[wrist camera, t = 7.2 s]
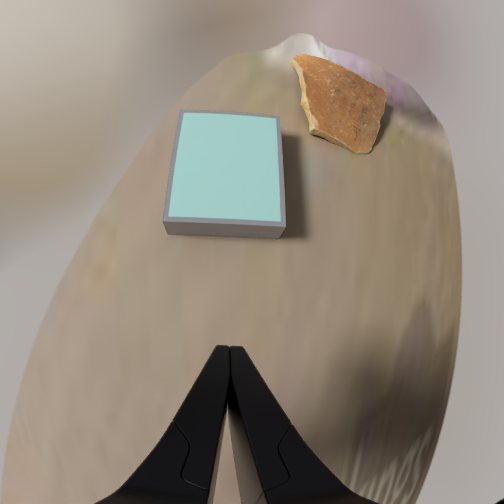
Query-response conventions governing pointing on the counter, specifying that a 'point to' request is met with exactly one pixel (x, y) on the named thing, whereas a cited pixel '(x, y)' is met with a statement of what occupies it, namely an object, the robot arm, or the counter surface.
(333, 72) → the pottery shard
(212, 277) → the counter surface
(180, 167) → the tile
